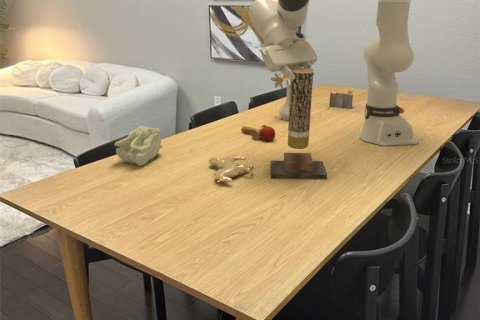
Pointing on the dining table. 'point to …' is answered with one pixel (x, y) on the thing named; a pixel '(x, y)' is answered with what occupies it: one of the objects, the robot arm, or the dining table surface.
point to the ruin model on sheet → (341, 100)
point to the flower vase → (285, 108)
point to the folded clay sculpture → (139, 145)
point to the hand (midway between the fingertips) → (303, 77)
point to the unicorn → (229, 168)
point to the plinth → (314, 175)
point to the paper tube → (300, 108)
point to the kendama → (260, 132)
